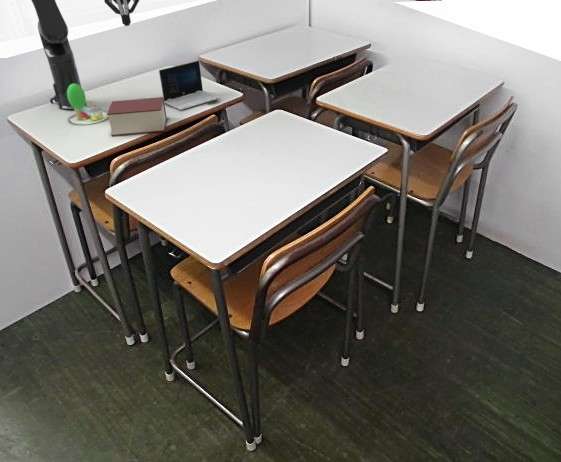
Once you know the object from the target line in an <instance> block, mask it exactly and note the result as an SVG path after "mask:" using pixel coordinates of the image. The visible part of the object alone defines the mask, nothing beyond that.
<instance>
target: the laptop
mask: <svg viewBox="0 0 561 462" xmlns="http://www.w3.org/2000/svg"><path fill="white" fill-rule="evenodd" d="M200 64H201V63H200V60H195V61H194V60H193V61H190V62H187V63H183V64H178V65H175V66H171V67H170V66H169V67H166V68H162V69H159V70H158V73H159V79H160V80H159V81H160V86H161V91H162V97H163V98H164V104H165V105H168V106H170V107H172V108H175V109H178V110H180V111H183V110H187V109H190V108H194V107H197V106H200V105H203V104H207V103H210V102H214V101H216V100H219V99H220V97H219V96H217V95H215V94H213V93H210V92H207V91H204V90H203V89H204V88H203V82H202V73H201V65H200Z"/></svg>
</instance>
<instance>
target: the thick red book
mask: <svg viewBox="0 0 561 462" xmlns="http://www.w3.org/2000/svg"><path fill="white" fill-rule="evenodd" d="M106 112H107V115H108V120H109V125H110V130H111V137H120V136H122V137H123V136H131V135H132V136H133V135H143V134H155V133H165V132H166V127H167V120H168V118H167V117H168V116H167V111H166V104H165V101H164V98H163V96H160V97H159V96H158V97H148V98H135V99H124V100H113V101H111V103H110V105H109V108H108V109H107V111H106Z"/></svg>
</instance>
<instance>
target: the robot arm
mask: <svg viewBox="0 0 561 462" xmlns="http://www.w3.org/2000/svg"><path fill="white" fill-rule="evenodd" d="M30 1H31V2H32V5H33V7H34V9H35V13H36V15H37V19H38V20H37V30H38V34H39V37H40V41H41V44H42V48H43V51H44V54H45V56H46V59H47V61H48V66H49V70H50V73H51V77H52V80H53V83H52V87H53V90H54V96H53V97H51V98H50V99H49V102H50V104H53V103H57V104H58V108H59V109H60V110H74V107H73V106H72V105H71V104H70V102H69V100H68V97H67V89H68V87H69V86H70V85H71V84H78V85H79V86H80V87H81V88H82V89H83V87H82V84H81V79H80V75H79V71H78V67H77V63H76V60H75V56H74V52H73V49H72V47H71V45H70V42H69V41H70V40H69V38H68V36H69V27H68V25H67V22H66V20H65V19H64V17H63V14H62V13H61V11H60V8H59V7H58V4H57V1H56V0H30ZM103 1H104V3H105V4H106V5H107V7H109V9H111V10H112V11H113V13H114V14H116V15H119V16H120V17H121V22H122V25H124V27H129V26H130V25H131V23H132V21H131V16H130V15H131V14H132V13H134V12H135V11H136V10H135V9H136V8H137V6H138V4H139V2H140V0H103ZM131 1H133V4H132V5H131V7H130V3H131ZM113 2H114V3H115V4H116V5H117V6H116V5H115V4H114V3H113ZM86 104H87V101H86V102H85V105H86Z"/></svg>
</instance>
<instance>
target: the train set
mask: <svg viewBox="0 0 561 462" xmlns="http://www.w3.org/2000/svg"><path fill="white" fill-rule="evenodd" d="M81 87H82V86H81ZM81 87H80V86H79V85H78V84H71V85H70V86H69V87H68V89H67V97H68V100H69V102H70V104H71V105H72V106H73V107H74V109H73V110H74V113H75V116H74V118H73V117H70V119H69V121H70V123H73V124H74V125H75V124H76V125H93V124H97V123H100V122H103V121H104V120H106V119H109V117H108V115H107V112H108V111H104V110H102V107H98V106H97V105H94V106H93V104H92V102H90V101H87V98H86V94H85V91H84V89H83V87H82V88H81ZM85 102H86V104H87V105H88V106H89V107H86V106H85V105H86V104H85Z"/></svg>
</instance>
